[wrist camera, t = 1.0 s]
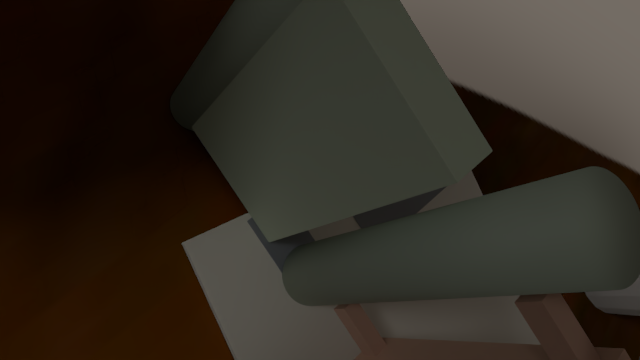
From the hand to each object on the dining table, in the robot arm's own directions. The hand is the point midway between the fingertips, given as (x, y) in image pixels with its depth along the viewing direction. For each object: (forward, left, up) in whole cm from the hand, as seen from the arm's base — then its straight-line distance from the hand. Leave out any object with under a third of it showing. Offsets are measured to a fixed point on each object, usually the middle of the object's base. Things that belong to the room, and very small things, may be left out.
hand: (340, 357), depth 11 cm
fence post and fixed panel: (-4, +6, -14) cm, 16 cm away
